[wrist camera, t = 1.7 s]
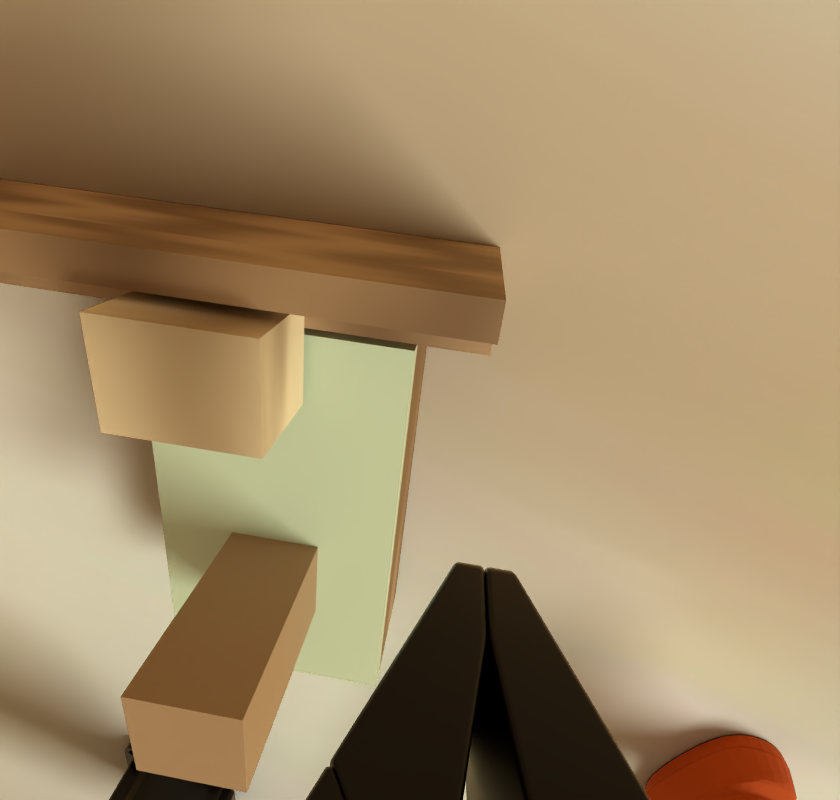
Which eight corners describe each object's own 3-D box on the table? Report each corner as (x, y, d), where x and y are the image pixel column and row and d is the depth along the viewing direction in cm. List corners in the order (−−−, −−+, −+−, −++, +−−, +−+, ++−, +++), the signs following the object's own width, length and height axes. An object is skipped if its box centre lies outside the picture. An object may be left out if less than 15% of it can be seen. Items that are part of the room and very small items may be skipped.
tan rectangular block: (169, 383, 15) (101, 432, 12) (158, 281, 14) (78, 312, 11) (302, 404, 15) (262, 459, 12) (304, 302, 14) (259, 339, 11)
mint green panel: (199, 617, 22) (70, 822, 15) (165, 295, 16) (-73, 399, 9) (383, 650, 22) (335, 877, 15) (421, 333, 16) (369, 471, 9)
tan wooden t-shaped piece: (73, 537, 25) (-63, 663, 19) (-10, 177, 18) (-270, 190, 12) (437, 601, 24) (419, 757, 18) (499, 247, 17) (506, 300, 11)
